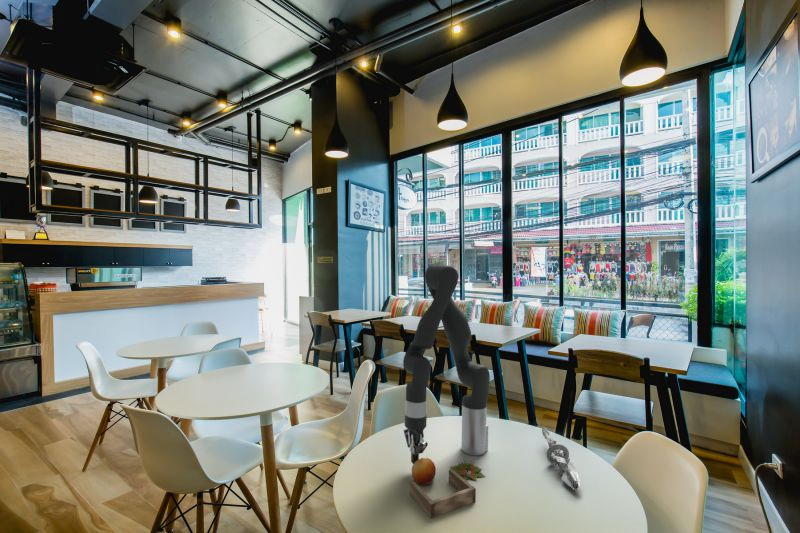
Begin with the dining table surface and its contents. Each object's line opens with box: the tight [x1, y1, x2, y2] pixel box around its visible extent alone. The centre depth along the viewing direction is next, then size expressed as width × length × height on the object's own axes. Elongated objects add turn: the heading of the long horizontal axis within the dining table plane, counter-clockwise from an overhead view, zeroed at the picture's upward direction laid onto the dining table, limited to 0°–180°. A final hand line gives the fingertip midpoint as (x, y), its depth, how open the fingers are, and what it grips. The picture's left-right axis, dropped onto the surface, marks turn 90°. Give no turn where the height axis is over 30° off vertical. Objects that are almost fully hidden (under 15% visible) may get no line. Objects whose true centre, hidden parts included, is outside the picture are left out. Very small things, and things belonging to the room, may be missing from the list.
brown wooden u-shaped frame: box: [409, 468, 477, 519], centre depth 113 cm, size 16×12×4 cm
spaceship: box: [541, 426, 581, 491], centre depth 133 cm, size 8×35×8 cm
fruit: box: [411, 457, 437, 486], centre depth 122 cm, size 8×8×8 cm
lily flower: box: [450, 458, 486, 482], centre depth 127 cm, size 12×12×5 cm
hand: (414, 462), depth 127 cm, fingers closed
